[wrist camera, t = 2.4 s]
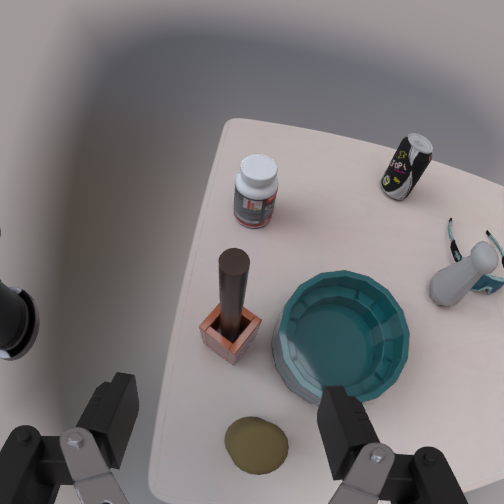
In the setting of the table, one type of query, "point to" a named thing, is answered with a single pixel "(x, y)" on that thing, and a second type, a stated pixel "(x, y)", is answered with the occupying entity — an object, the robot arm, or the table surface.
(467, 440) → the table surface
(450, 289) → the salt shaker
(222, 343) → the holder
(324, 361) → the bowl
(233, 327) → the stick
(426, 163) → the beverage can
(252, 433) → the cork
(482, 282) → the sunglasses
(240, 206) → the pill bottle
